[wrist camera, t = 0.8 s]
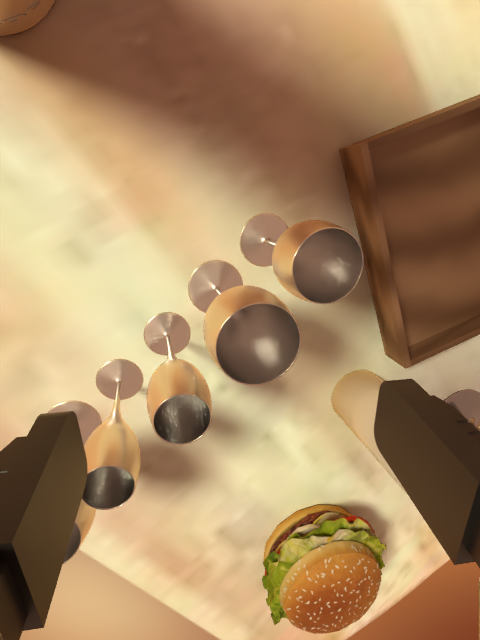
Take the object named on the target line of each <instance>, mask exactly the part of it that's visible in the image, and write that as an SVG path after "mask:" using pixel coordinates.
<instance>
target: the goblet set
mask: <svg viewBox="0 0 480 640" xmlns="http://www.w3.org/2000/svg"><path fill="white" fill-rule="evenodd" d="M240 249H241V252H242V254H243V255H244V257H245V258H246V259H247V260H248V261H249V262H250V263H252V264H254V265H256V266H261V267H267V266H271V265H273V269H274V272H275V275H276V277H277V279H278V280H279V282H280V283H281V284H282V286H283V287H284V288H285V289H286V290H287V291H289V292H290V293H291V294H293V295H294V296H296V297H298V298H300V299H303V300H305V301H309V302H312V303H317V304H330V303H334V302H336V301H339V300H341V299H342V298H344V297H345V296H347V295H348V294H349V293H350V292H351V291H352V290H353V289H354V287H355V286H356V285H357V283H358V281H359V279H360V277H361V274H362V270H363V252H362V249H361V246H360V244H359V242H358V241H357V239H356V238H355V237H354V236H353V235H352V234H351V233H349V232H348V231H346V230H345V229H343V228H341V227H339V226H337V225H335V224H333V223H330V222H326V221H320V220H309V221H303V222H300V223H297V224H295V225H293V226H291V227H289V228H288V227H287V225H286V224H285V222H284V221H283V220H282V219H281V218H279V217H278V216H276V215H273V214H269V213H263V214H259V215H256V216H254V217H252V218H251V219H250V220H248V221H247V223H246V224H245V225H244V227H243V229H242V231H241V234H240ZM188 293H189V297H190V299H191V301H192V303H193V304H194V305H195V306H196V307H197V308H198V309H199V310H201V311H203V312H205V313H206V315H205V319H204V339H205V343H206V347H207V349H208V352H209V354H210V356H211V357H212V359H213V360H214V362H215V363H216V364H217V366H218V367H219V368H220V369H221V370H222V371H223V372H224V373H225V374H226V375H227V376H228V377H229V378H231V379H232V380H234V381H236V382H238V383H241V384H245V385H262V384H266V383H269V382H271V381H274V380H276V379H277V378H279V377H280V376H282V375H283V374H284V373H285V372H287V371H288V369H289V368H290V367H291V366H292V365H293V363H294V361H295V360H296V358H297V355H298V353H299V349H300V344H301V335H300V330H299V326H298V324H297V322H296V320H295V318H294V316H293V315H292V313H291V311H290V310H289V309H288V307H287V306H286V305H285V304H284V303H283V302H282V301H281V300H280V299H279V298H278V297H277V296H275V295H274V294H272V293H271V292H269V291H267V290H265V289H262V288H259V287H255V286H243V283H242V278H241V276H240V274H239V272H238V271H237V269H236V268H235V267H234V266H233V265H231V264H229V263H227V262H225V261H221V260H212V261H208V262H205V263H203V264H201V265H200V266H199V267H197V268H196V269H195V271H194V272H193V273H192V275H191V277H190V280H189V284H188ZM189 339H190V327H189V325H188V323H187V321H186V320H185V319H184V318H183V317H182V316H180V315H178V314H176V313H172V312H164V313H160V314H157V315H155V316H154V317H152V318H151V319H150V320H149V321H148V323H147V324H146V326H145V329H144V340H145V343H146V345H147V346H148V347H149V348H150V349H151V350H152V351H153V352H155V353H157V354H160V355H168V358H167V361H166V362H164V363H163V364H161V365H160V366H159V367H158V368H157V369H156V370H155V372H154V373H153V375H152V377H151V379H150V382H149V385H148V390H147V409H148V414H149V418H150V421H151V423H152V426H153V428H154V431H155V432H156V434H157V435H158V436H159V437H160V438H161V439H162V440H163V441H165V442H167V443H170V444H175V445H183V444H188V443H191V442H194V441H196V440H197V439H199V438H200V437H202V436H203V435H204V434H205V432H206V431H207V430H208V428H209V426H210V423H211V417H212V403H211V395H210V391H209V387H208V385H207V383H206V380H205V379H204V377H203V375H202V374H201V373H200V371H199V370H198V369H197V368H196V367H195V366H194V365H192V364H191V363H189V362H187V361H184V360H181V359H177V358H176V356H175V354H176V353H178V352H180V351H181V350H183V349H184V348H185V347H186V345H187V344H188V342H189ZM142 383H143V374H142V372H141V370H140V368H139V367H138V366H137V365H136V364H135V363H133V362H131V361H129V360H125V359H115V360H111V361H109V362H107V363H105V364H104V365H103V366H102V367H101V368H100V369H99V371H98V372H97V375H96V385H97V387H98V389H99V391H100V392H101V393H102V394H103V395H104V396H106V397H108V398H110V399H114V400H115V401H114V406H113V410H112V412H111V414H110V416H109V418H108V419H107V420H106V421H104V422H103V423H102V422H101V417H100V415H99V413H98V412H97V410H96V409H95V408H93V407H92V406H91V405H89V404H87V403H84V402H81V401H66V402H62V403H59V404H57V405H55V406H54V407H53V408H51V409H50V410H49V411H48V413H56V412H66V411H74V412H75V414H76V416H77V419H78V424H79V428H80V432H81V436H82V441H83V445H84V449H85V454H86V458H87V481H86V486H85V489H84V493H83V496H82V499H81V503H80V506H79V509H78V513H77V516H76V520H75V523H74V526H73V530H72V533H71V537H70V540H69V543H68V547H67V550H66V554H65V557H64V560H63V564H64V563H65V562H67V561H68V560H69V559H70V558H72V557H73V555H74V554H75V553H76V552H77V550H78V549H79V547H80V546H81V544H82V542H83V541H84V539H85V537H86V535H87V534H88V532H89V530H90V527H91V525H92V523H93V520H94V517H95V513H96V509H99V510H109V509H114V508H117V507H119V506H121V505H123V504H124V503H126V502H127V501H128V500H129V499H130V498H131V497H132V495H133V493H134V491H135V487H136V484H137V480H138V476H139V471H140V448H139V444H138V440H137V438H136V436H135V434H134V432H133V431H132V429H131V428H130V427H129V426H128V424H127V423H126V422H125V421H124V420H123V418H122V416H121V412H120V400H123V399H127V398H130V397H132V396H134V395H135V394H136V393H137V392H138V391H139V390H140V388H141V386H142Z"/></svg>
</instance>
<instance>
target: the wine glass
mask: <svg viewBox="0 0 480 640" xmlns="http://www.w3.org/2000/svg"><path fill="white" fill-rule="evenodd" d="M444 401H445V402H447V403H448V404H450V405H452V406H454V407H455V408H456V409H457V410H458V411H459V412H460V413H461V414H462V415H463V416H464V417H465V418H466V419H468V423H470V422H471V423H472V424H473V425H474V426H475V427H476V428H477V429H478V430H479V431H480V428H479V426H480V393H478V392H477V391H474V390H462V391H458V392H456V393H454V394H452V395H451V396H449V397H448V398H447V399H445V400H444Z"/></svg>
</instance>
